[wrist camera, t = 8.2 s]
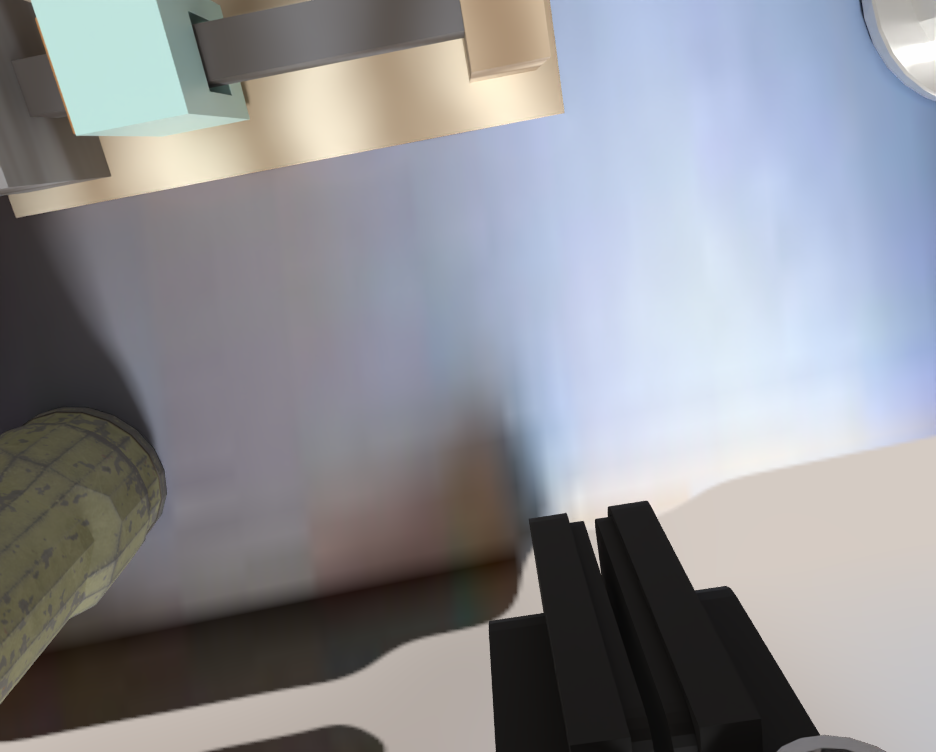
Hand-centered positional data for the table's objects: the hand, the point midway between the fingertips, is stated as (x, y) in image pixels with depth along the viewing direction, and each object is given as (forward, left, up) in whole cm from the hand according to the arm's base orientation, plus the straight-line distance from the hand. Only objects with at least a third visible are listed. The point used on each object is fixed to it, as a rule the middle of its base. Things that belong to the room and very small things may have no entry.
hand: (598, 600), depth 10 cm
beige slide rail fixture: (+9, -11, -27) cm, 31 cm away
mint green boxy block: (+12, -11, -25) cm, 30 cm away
